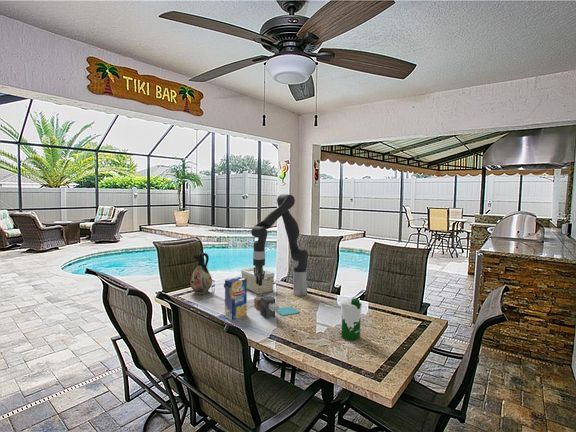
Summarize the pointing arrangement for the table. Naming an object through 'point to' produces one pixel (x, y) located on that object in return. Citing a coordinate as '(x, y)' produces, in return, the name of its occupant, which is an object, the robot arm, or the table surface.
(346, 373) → the table surface
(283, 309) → the mat
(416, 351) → the table surface
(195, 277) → the ceramic jug
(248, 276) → the storage basket
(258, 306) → the block
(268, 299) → the block
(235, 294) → the blue yellow food box
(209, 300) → the table surface
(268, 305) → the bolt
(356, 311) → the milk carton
